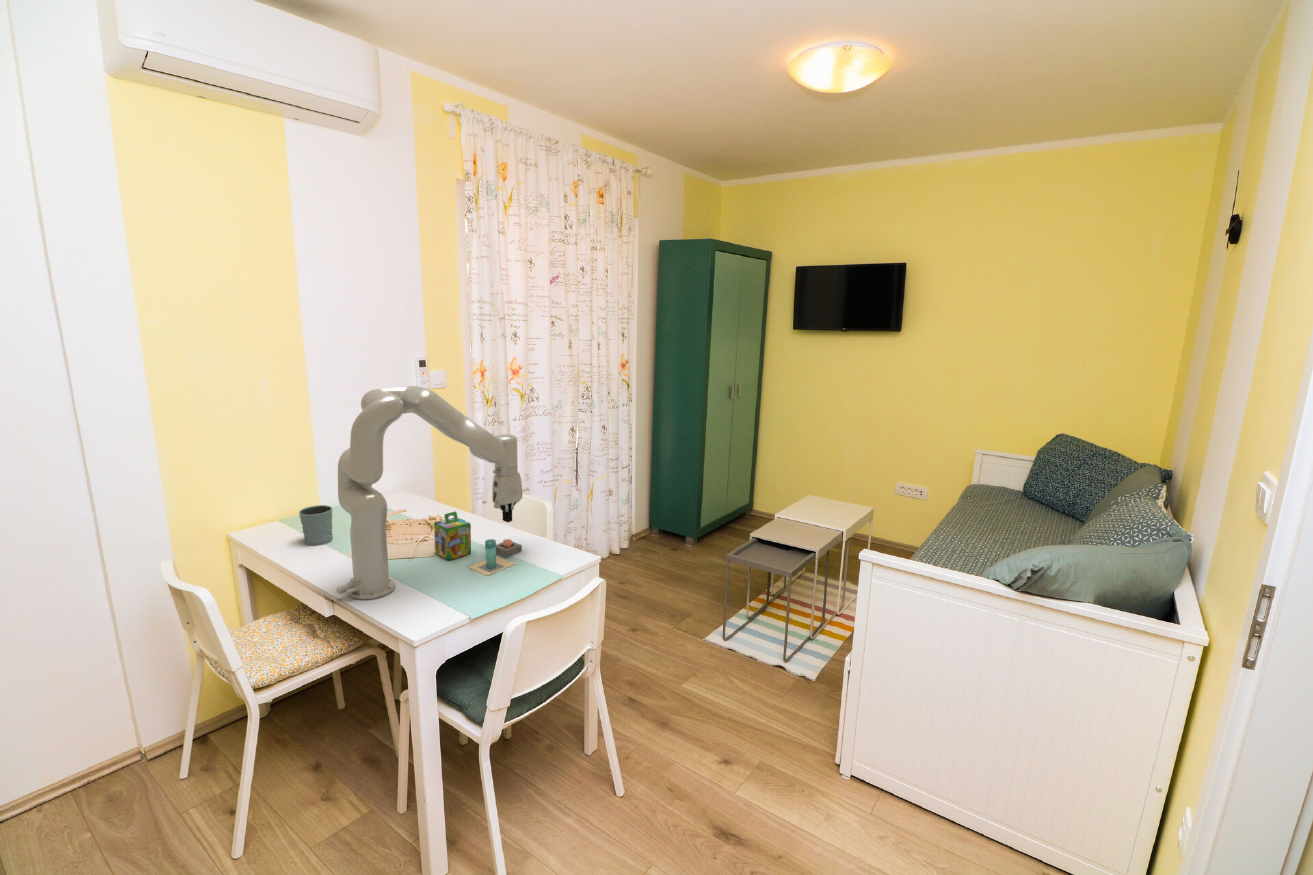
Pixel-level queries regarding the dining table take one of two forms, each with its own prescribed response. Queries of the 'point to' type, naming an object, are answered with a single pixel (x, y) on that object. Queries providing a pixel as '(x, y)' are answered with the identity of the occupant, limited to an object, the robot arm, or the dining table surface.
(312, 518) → the teal grey cup
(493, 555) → the teal cylinder
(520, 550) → the button collar
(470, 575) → the dining table surface
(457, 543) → the chalk box
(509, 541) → the button
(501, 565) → the sheet
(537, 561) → the dining table surface
